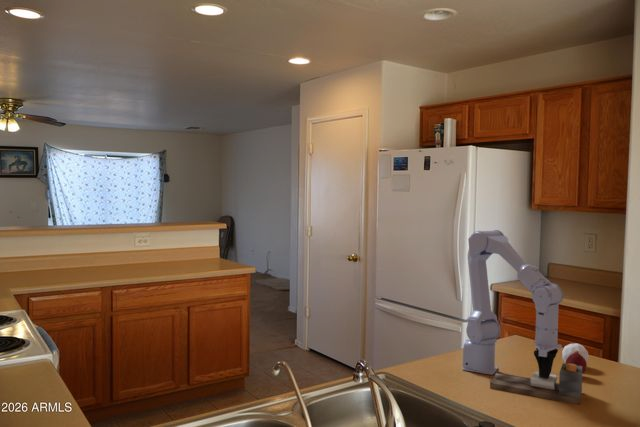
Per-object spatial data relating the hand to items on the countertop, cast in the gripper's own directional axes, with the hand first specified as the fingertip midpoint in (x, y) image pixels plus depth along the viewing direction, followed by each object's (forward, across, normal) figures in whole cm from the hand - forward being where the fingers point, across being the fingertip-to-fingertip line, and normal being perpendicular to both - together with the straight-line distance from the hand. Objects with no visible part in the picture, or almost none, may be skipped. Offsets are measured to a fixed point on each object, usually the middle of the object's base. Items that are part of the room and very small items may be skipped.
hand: (545, 375), depth 150 cm
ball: (+5, +29, -6) cm, 30 cm away
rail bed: (+5, 0, +2) cm, 5 cm away
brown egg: (0, 0, -7) cm, 7 cm away
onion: (+5, +19, -6) cm, 21 cm away
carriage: (+3, 0, 0) cm, 3 cm away
